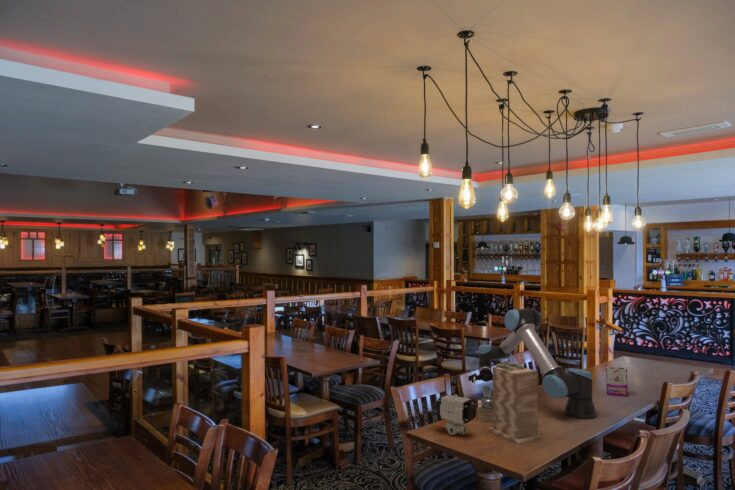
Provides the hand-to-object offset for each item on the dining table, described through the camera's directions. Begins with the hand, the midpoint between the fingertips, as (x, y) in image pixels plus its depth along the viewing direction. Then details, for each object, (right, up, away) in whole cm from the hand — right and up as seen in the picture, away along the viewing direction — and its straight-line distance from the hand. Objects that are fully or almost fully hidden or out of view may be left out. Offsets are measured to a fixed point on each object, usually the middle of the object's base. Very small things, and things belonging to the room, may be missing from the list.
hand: (486, 382), depth 279 cm
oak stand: (+2, -11, -47) cm, 48 cm away
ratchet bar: (-3, -5, -16) cm, 17 cm away
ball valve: (-25, -12, -45) cm, 53 cm away
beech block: (-4, -12, -22) cm, 25 cm away
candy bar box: (+81, -12, +18) cm, 84 cm away
